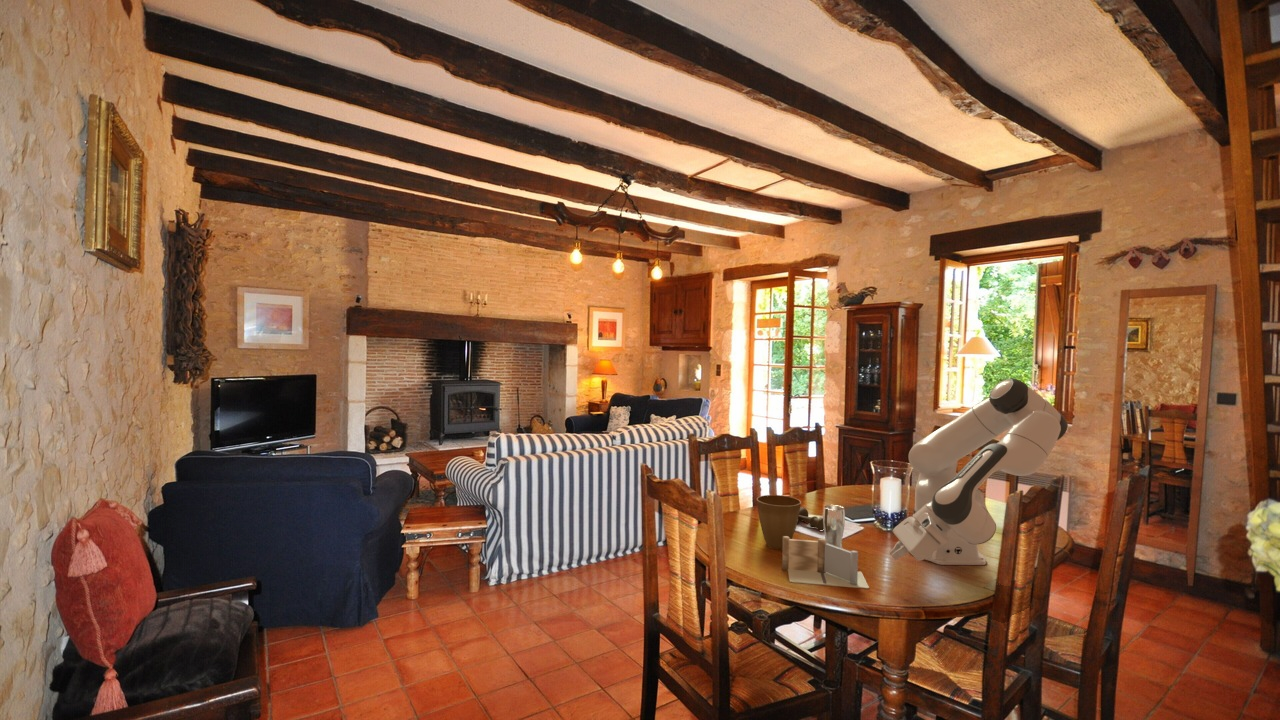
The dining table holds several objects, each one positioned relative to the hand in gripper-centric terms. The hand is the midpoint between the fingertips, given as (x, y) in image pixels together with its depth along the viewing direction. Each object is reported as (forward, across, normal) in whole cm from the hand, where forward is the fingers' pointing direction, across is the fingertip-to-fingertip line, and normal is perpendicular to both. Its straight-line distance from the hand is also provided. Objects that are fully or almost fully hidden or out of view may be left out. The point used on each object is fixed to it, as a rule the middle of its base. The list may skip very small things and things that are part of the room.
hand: (892, 556), depth 167 cm
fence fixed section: (+23, -9, -10) cm, 27 cm away
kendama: (+20, -56, -7) cm, 60 cm away
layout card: (+19, -4, -6) cm, 20 cm away
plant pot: (+28, -30, -15) cm, 43 cm away
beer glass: (+15, -27, -2) cm, 31 cm away
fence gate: (+16, -3, -4) cm, 16 cm away
